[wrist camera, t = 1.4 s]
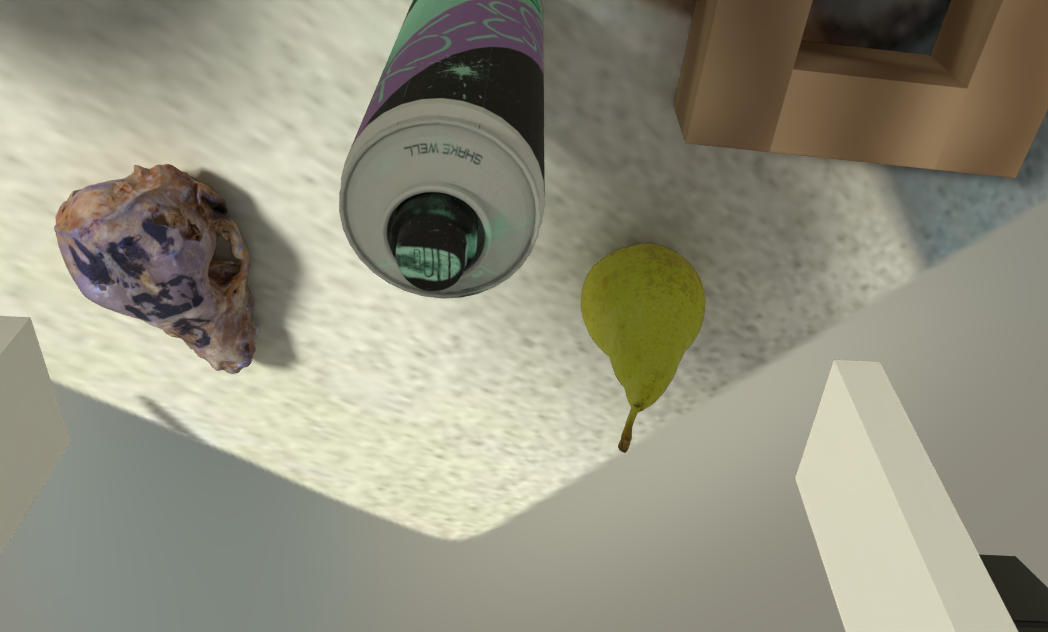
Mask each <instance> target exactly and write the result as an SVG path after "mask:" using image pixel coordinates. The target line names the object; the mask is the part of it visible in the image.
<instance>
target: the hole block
mask: <svg viewBox="0 0 1048 632" xmlns="http://www.w3.org/2000/svg"><path fill="white" fill-rule="evenodd" d="M812 1H813V0H696V4H695V9H694V13H693V18H692V23H691V28H690V32H689V37H688V42H687V46H686V51H685V56H684V60H683V65H682V70H681V75H680V79H679V84H678V89H677V93H676V98H675V103H674V109H675V112H676V115H677V118H678V121H679V124H680V127H681V130H682V133H683V136H684V139H685V142H686V143H689V144H699V145H708V146H718V147H727V148H736V149H746V150H755V151H765V152H774V153H784V154H793V155H802V156H812V157H821V158H831V159H840V160H850V161H859V162H868V163H878V164H887V165H897V166H906V167H916V168H925V169H934V170H944V171H953V172H963V173H972V174H982V175H991V176H1000V177H1010V178H1016V176H1017V174H1018V172H1019V170H1020V168H1021V166H1022V164H1023V161H1024V159H1025V157H1026V155H1027V153H1028V151H1029V149H1030V146H1031V144H1032V142H1033V140H1034V138H1035V136H1036V134H1037V131H1038V129H1039V127H1040V125H1041V123H1042V121H1043V119H1044V116H1045V114H1046V112H1047V110H1048V0H951V2H950V4H949V7H948V10H947V12H946V15H945V18H944V20H943V23H942V26H941V28H940V31H939V34H938V36H937V39H936V42H935V45H934V47H933V50H932V53H931V55H925V54H916V53H907V52H899V51H890V50H881V49H872V48H863V47H854V46H845V45H836V44H827V43H818V42H810V41H801V40H802V36H803V33H804V29H805V26H806V22H807V19H808V15H809V12H810V8H811V5H812Z"/></svg>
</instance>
